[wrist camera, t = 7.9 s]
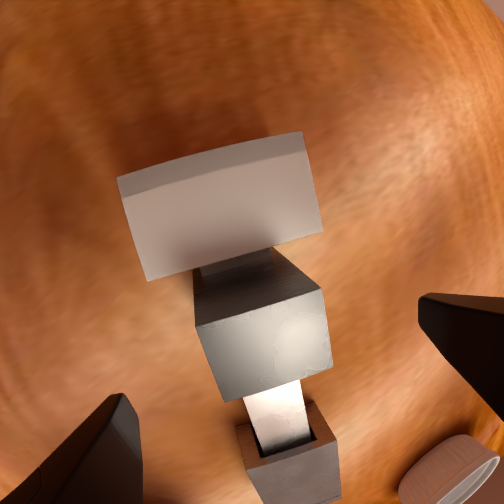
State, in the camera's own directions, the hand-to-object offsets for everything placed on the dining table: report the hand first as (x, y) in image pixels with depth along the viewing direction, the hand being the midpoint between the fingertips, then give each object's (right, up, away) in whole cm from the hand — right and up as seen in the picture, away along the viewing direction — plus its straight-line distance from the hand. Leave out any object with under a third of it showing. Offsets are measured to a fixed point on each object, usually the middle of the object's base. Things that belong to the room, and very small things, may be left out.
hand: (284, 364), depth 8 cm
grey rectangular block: (-3, +6, +7) cm, 9 cm away
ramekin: (+22, -24, +19) cm, 38 cm away
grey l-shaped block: (-1, 0, +9) cm, 9 cm away
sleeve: (+2, -12, +12) cm, 17 cm away
